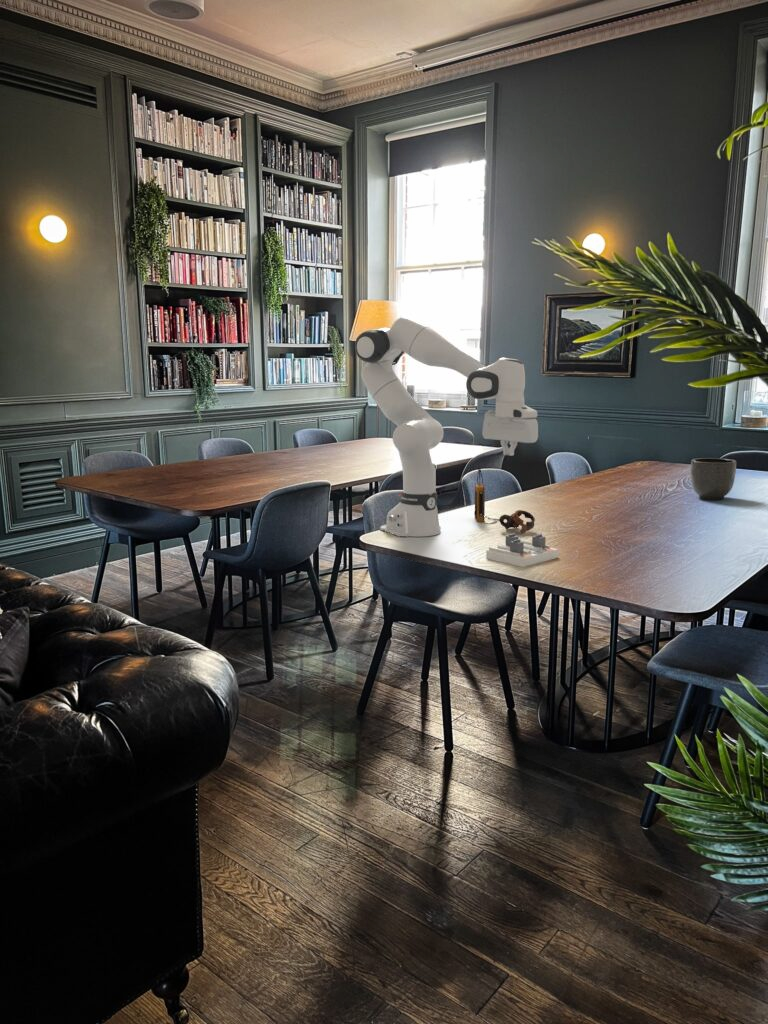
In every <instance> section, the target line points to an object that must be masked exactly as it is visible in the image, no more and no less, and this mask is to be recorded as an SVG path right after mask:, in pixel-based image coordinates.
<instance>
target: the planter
mask: <svg viewBox="0 0 768 1024" xmlns="http://www.w3.org/2000/svg"><path fill="white" fill-rule="evenodd" d="M736 472H737V460H735V459H729V458H720V457H719V458H718V457H717V458H716V457H714V458H713V457H701V458H693V459H691V461H690V481H691V486H692V489H693V491H694V492H695V493H696V494H697V495H698V497H699V498H700V499H702V500H705V501H721V500H723V499H724V498H725V497H726V496H727V495H728V494H729V493H730V492H731V490H733V487H734V483H735V479H736Z"/></svg>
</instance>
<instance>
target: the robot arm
mask: <svg viewBox="0 0 768 1024" xmlns="http://www.w3.org/2000/svg"><path fill="white" fill-rule="evenodd" d="M354 351H355V353H356V356H357V357H358V359H360V360H361V361H363V362H365V363H366V364H364V366H363V367H362V369H361V371H360V377H361V379H362V382H363V384H364V386H365V389H366V390H367V391H368V393H369V394H370V396H371V398H372V400H373V401H374V403H375V404H376V405H377V407H378V408H379V409H380V411H381V413H383V415H384V417H385V418H387V420H389V421H391V422H392V423H393V424H395V425H396V426H397V427H395V429H394V431H393V432H392V442H393V445H394V446H395V448H396V449H397V451H398V454H399V459H400V462H401V467H402V481H403V482H402V487H403V489H402V490H403V491H402V492H399V495H398V496H397V497H398V498H400V499H399V503H397V505H395V506H394V507H393V508H391V510H389V511H388V513H387V515H386V524H382V525H381V526H380V527H379V530H380V531H383V530H386V531H387V532H386V531H385V532H386V533H388V532H390V533H389V534H391V533H393V534H392V535H394V534H396V535H398V536H397V537H400V536H406V537H417V538H418V537H432V536H436V535H439V534H440V533H441V529H442V528H441V525H440V521H439V513H438V506H437V502H438V491H436V488H437V487H436V486H437V485H436V482H437V481H436V479H437V478H436V476H437V475H436V473H437V472H436V468H435V466H434V465H433V462H432V457H431V452H430V450H432V449H435V448H436V447H437V446H438V445H439V444H440V443H441V442H442V440H443V438H444V434H445V433H444V427H443V425H442V423H440V422H439V421H438V420H436V419H435V418H434V417H432V416H431V415H430V413H428V411H426V409H424V408H423V407H422V406H421V405H420V404H419V403H418V402H417V401H416V399H414V397H413V396H412V395H411V393H410V392H409V391H408V390H407V388H406V387H405V385H404V384H403V382H402V381H401V380H400V378H399V377H398V376H397V374H396V372H394V370H393V366H396V365H397V364H398V362H399V361H400V359H401V357H402V356H403V355H404V354H406V355H408V356H409V357H411V358H412V359H414V360H415V361H418V362H419V363H421V364H424V365H426V366H428V367H430V366H431V367H438V368H445V369H450V370H453V371H455V372H457V373H459V374H461V375H463V376H464V377H466V383H465V385H466V391H467V393H468V394H469V396H471V397H472V398H473V399H475V400H476V399H477V400H481V401H484V400H485V401H486V400H495V409H494V410H493V409H488V410H487V411H486V412H485V413H484V419H483V424H482V433H481V434H482V438H483V439H485V440H495V441H496V440H498V441H500V445H501V448H502V450H503V453H502V454H503V455H504V456H510V457H511V456H514V455H515V450H516V448H517V447H518V443H523V444H533V443H536V442H537V440H538V439H539V422H538V420H537V418H538V414H539V413H538V410H536V409H534V408H531V407H530V406H528V405H526V404H525V402H526V401H525V397H524V393H525V392H524V391H525V388H526V372H525V371H526V370H525V366H524V363H523V361H521V360H520V359H516V358H510V357H500V358H498V359H497V360H496V361H495V362H493V363H491V364H490V365H485V364H484V363H483V362H480V361H478V360H477V359H475V358H473V357H472V356H470V355H468V354H467V353H465V352H464V351H462V350H460V349H459V348H457V347H456V346H455V345H454V344H453V343H451V342H449V341H448V340H447V339H446V338H445V337H444V336H442V335H441V334H439V333H438V332H436V331H435V330H434V329H433V328H431V327H430V326H427V325H426V324H425V323H423V322H421V321H419V320H416V319H414V318H411V317H409V316H400V317H399V318H397V319H396V320H394V322H393V324H392V325H391V327H389V328H388V327H378V328H375V329H369V330H366V331H363V332H361V333H360V334H359V335H358V336H357V337H356V339H355V342H354ZM508 444H509V445H510V446H508ZM396 535H395V536H396Z"/></svg>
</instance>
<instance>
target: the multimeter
mask: <svg viewBox="0 0 768 1024" xmlns="http://www.w3.org/2000/svg"><path fill="white" fill-rule="evenodd" d="M476 467H477V470H478V472H477V477H476V479H477V484H474V513H473V514H474V520H475V521H476V522H477V523H484V524H486V525H491V524H495V523H497V522H500V521H499V519H500V518H490V517H489V516H487V517H488V518H487V519H488V520H493V522H490V523H487V522H486V521H485V520H486V519H485V518H486V516H485V512H486V510H485V509H486V508H485V505H486V503H485V501H486V500H485V499H486V498H485V497H486V495H485V493H486V492H485V486H484V480H483V475H482V470H481V468H480V466H479V465H478V466H476ZM484 516H485V517H484Z"/></svg>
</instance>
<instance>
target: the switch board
mask: <svg viewBox="0 0 768 1024" xmlns="http://www.w3.org/2000/svg"><path fill="white" fill-rule="evenodd" d="M520 542H524V546H523V554H520V553H516V552H511V551H510V546H508V545H506V544H503V543H502V544H497V547H492V546H490V547H488V549H486V550H485V552H486V553H485V555H486V557H485V558H486V559H487V560H491V561H497V562H499V563H503V564H509V565H513V566H517V567H521V568H524V567H529V566H533V565H535V564H540V563H543V562H547V561H551V560H554V559H557V558H559V549H558V548H554V547H551V545H548V544H545V548H541V547H536V546H532V541H529V540H525V539H520Z"/></svg>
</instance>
